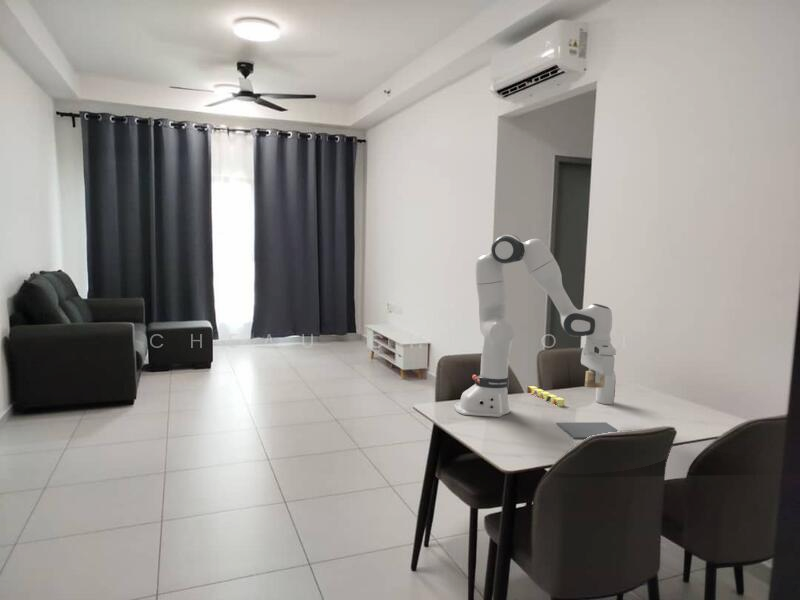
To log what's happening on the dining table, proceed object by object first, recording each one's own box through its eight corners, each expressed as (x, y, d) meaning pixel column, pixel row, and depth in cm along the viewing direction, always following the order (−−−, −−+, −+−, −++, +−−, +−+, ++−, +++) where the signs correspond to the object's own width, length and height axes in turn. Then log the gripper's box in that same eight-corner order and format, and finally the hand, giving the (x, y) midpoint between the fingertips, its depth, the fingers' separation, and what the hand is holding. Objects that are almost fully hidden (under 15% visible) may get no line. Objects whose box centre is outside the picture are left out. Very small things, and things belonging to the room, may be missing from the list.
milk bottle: (612, 405, 236) (615, 360, 234) (593, 402, 240) (596, 357, 238) (615, 401, 243) (618, 357, 241) (597, 398, 247) (600, 355, 245)
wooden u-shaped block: (586, 387, 211) (588, 372, 210) (584, 386, 213) (585, 370, 212) (604, 387, 212) (605, 372, 211) (601, 386, 214) (602, 371, 213)
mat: (574, 438, 193) (574, 437, 193) (556, 424, 209) (556, 422, 209) (627, 438, 195) (627, 436, 195) (606, 423, 211) (606, 422, 211)
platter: (550, 389, 263) (550, 382, 263) (596, 408, 233) (596, 400, 233) (492, 393, 252) (492, 386, 251) (532, 414, 222) (532, 406, 221)
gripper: (578, 341, 221) (575, 374, 222) (602, 351, 200) (599, 388, 202) (593, 341, 221) (590, 375, 223) (618, 351, 201) (615, 388, 203)
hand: (594, 381), depth 212 cm, fingers closed on wooden u-shaped block, 2 cm apart
